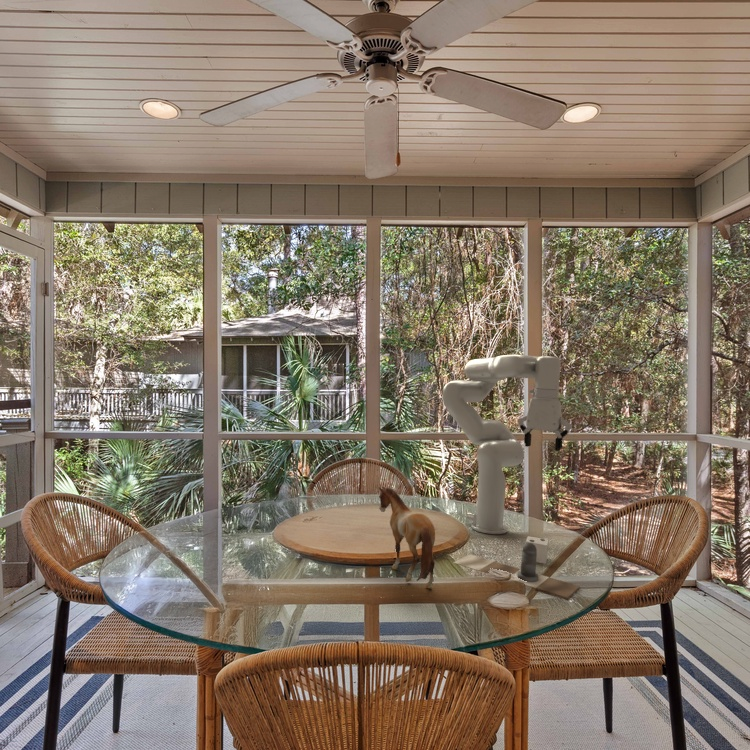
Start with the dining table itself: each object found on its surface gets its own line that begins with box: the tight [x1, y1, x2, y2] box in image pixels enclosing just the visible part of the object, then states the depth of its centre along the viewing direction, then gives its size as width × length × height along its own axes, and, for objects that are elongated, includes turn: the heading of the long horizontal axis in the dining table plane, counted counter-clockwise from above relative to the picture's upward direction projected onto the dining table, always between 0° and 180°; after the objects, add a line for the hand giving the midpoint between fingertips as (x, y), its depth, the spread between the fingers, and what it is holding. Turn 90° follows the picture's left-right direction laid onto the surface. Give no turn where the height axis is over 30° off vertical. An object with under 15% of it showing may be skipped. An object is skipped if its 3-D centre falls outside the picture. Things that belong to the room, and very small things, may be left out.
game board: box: [452, 553, 580, 601], centre depth 142 cm, size 32×10×1 cm, turn 53°
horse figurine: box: [378, 486, 436, 589], centre depth 137 cm, size 31×8×21 cm, turn 20°
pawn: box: [517, 542, 539, 582], centre depth 140 cm, size 5×5×9 cm
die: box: [525, 536, 549, 565], centre depth 156 cm, size 6×6×6 cm
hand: (542, 448), depth 167 cm, fingers open, 9 cm apart
